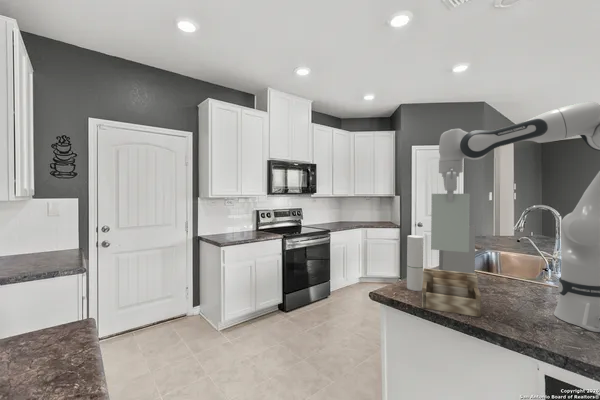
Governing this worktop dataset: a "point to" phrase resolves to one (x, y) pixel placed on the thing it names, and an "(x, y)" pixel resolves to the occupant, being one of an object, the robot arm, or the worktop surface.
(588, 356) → the worktop surface
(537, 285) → the worktop surface
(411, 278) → the cylindrical container
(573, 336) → the worktop surface
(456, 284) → the offcut boards
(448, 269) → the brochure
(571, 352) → the worktop surface
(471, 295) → the box
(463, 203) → the grey green flat block
